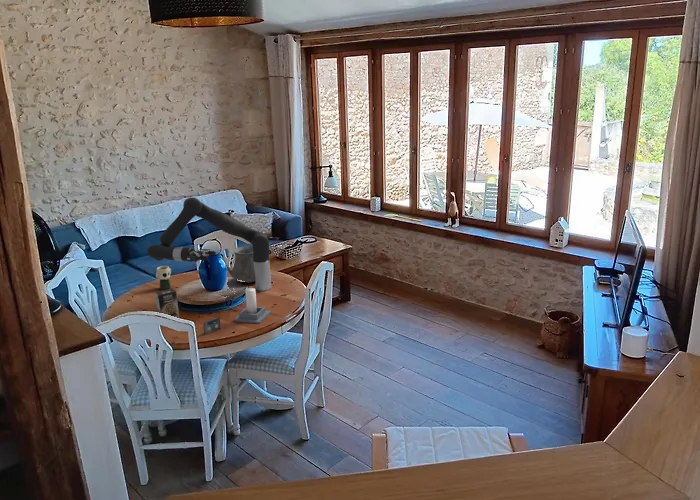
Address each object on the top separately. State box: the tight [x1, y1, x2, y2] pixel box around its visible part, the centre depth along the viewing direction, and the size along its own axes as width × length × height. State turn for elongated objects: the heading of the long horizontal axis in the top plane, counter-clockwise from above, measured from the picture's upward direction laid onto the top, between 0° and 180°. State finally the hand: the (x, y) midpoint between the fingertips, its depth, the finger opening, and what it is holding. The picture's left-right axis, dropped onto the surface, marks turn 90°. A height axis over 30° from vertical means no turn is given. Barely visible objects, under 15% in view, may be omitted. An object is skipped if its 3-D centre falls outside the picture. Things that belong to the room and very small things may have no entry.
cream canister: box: [244, 287, 258, 314], centre depth 279 cm, size 5×5×14 cm
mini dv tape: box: [202, 317, 222, 335], centre depth 265 cm, size 8×2×6 cm, turn 133°
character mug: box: [155, 265, 172, 290], centre depth 323 cm, size 11×7×13 cm, turn 149°
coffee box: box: [154, 288, 180, 319], centre depth 276 cm, size 9×6×16 cm
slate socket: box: [233, 306, 272, 324], centre depth 280 cm, size 14×14×4 cm
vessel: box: [226, 245, 255, 284], centre depth 333 cm, size 22×22×20 cm
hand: (211, 255), depth 284 cm, fingers open, 8 cm apart
